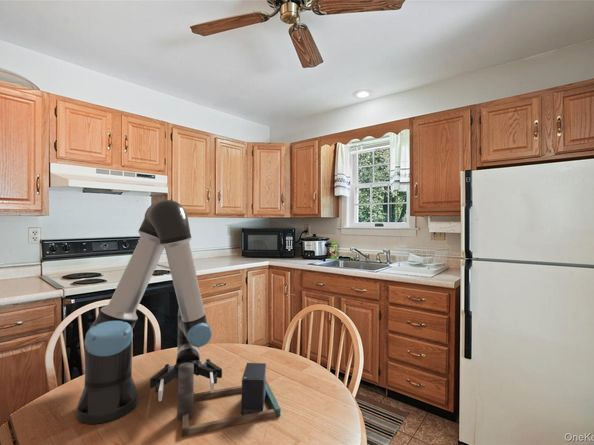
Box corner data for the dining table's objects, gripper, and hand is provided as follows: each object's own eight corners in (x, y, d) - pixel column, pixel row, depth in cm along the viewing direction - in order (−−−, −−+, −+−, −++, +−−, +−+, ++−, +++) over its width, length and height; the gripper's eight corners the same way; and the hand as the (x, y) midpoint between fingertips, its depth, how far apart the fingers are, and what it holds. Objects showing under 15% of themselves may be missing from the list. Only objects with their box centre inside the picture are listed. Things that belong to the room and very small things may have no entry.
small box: (263, 416, 85) (264, 379, 85) (240, 417, 85) (240, 379, 85) (266, 395, 96) (266, 362, 96) (245, 395, 96) (246, 362, 96)
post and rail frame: (176, 437, 76) (177, 381, 76) (178, 401, 92) (179, 354, 92) (280, 415, 85) (281, 365, 85) (265, 386, 101) (266, 343, 101)
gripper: (225, 364, 108) (232, 397, 88) (147, 375, 100) (136, 413, 80) (225, 343, 108) (233, 371, 88) (147, 352, 100) (136, 385, 80)
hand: (186, 391), depth 84 cm, fingers open, 13 cm apart
